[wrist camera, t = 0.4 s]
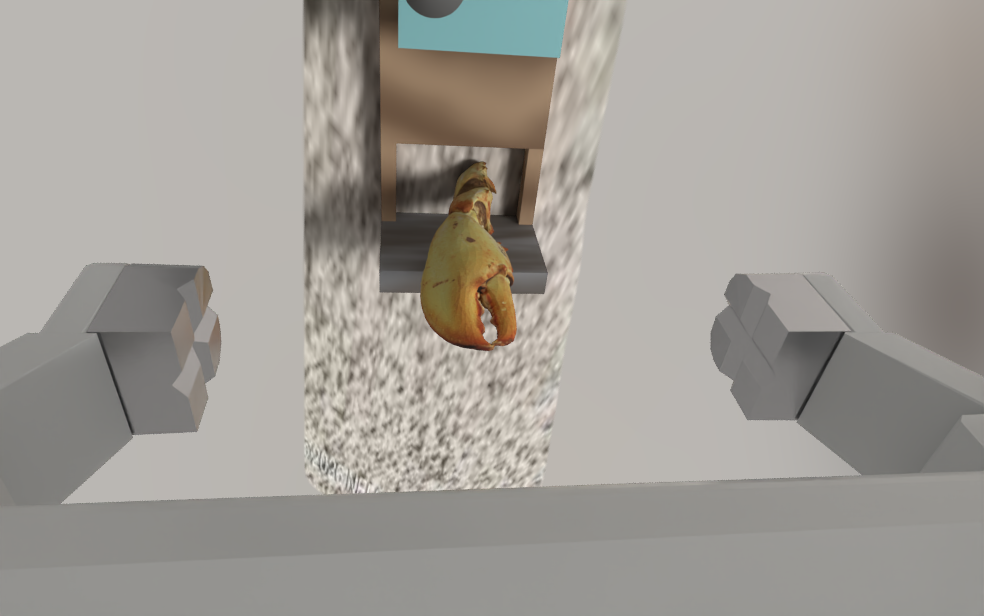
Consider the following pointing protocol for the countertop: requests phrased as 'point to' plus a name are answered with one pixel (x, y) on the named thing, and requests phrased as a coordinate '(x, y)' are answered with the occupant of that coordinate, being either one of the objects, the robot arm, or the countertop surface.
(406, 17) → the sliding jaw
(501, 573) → the robot arm
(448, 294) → the crab claw
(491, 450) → the countertop surface
